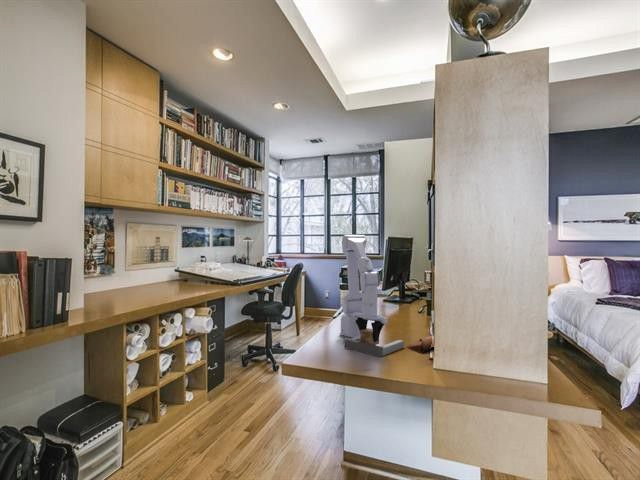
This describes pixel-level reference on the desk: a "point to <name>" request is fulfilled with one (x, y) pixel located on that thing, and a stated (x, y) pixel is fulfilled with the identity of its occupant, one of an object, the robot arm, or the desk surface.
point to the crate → (367, 336)
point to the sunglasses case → (421, 344)
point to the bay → (372, 346)
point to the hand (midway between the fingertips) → (369, 339)
